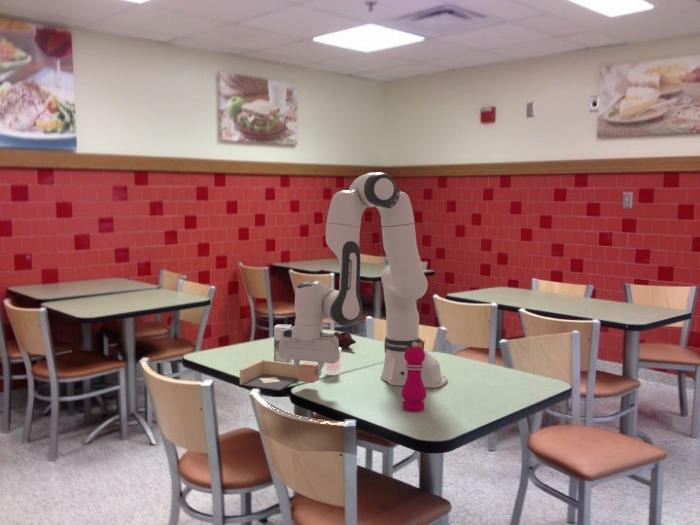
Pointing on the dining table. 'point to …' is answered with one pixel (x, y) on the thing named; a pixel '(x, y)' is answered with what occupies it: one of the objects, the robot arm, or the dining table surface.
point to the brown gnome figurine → (344, 339)
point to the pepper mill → (414, 380)
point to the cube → (308, 372)
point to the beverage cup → (334, 366)
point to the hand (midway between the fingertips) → (309, 374)
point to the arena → (269, 375)
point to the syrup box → (277, 337)
